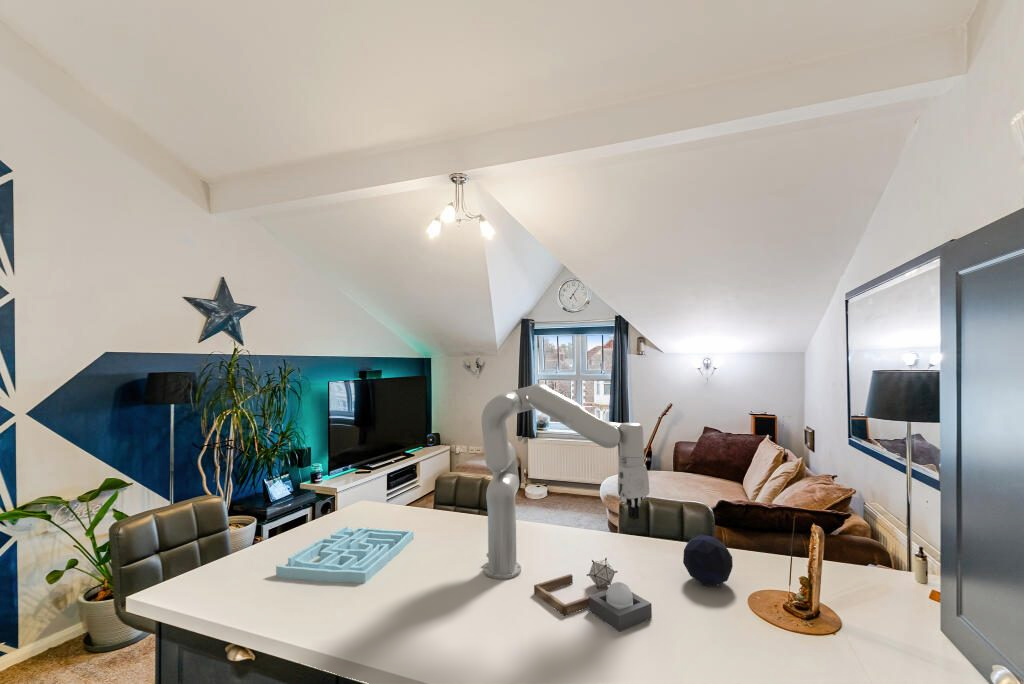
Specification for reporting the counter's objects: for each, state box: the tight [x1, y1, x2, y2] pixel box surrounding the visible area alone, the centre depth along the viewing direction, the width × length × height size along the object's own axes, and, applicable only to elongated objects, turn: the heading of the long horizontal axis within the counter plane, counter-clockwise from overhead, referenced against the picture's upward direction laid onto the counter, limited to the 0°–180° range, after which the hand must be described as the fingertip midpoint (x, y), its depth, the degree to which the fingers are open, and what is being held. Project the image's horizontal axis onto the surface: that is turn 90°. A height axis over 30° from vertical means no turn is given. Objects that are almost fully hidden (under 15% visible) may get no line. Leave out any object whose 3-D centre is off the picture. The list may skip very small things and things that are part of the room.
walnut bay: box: [533, 573, 601, 617], centre depth 137 cm, size 15×14×2 cm
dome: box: [606, 581, 633, 610], centre depth 128 cm, size 7×7×7 cm
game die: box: [586, 556, 618, 590], centre depth 144 cm, size 9×8×10 cm
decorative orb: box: [682, 534, 734, 587], centre depth 146 cm, size 14×15×15 cm
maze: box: [275, 525, 414, 584], centre depth 170 cm, size 40×33×4 cm
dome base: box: [588, 589, 653, 632], centre depth 128 cm, size 12×12×4 cm
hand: (633, 518), depth 150 cm, fingers closed
